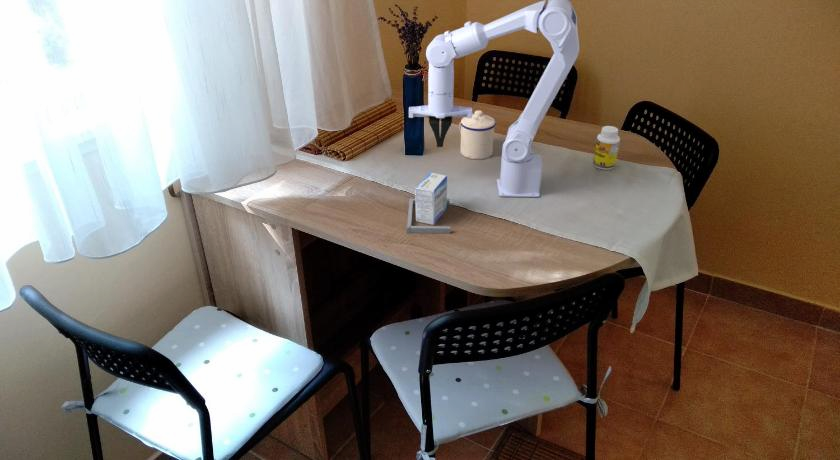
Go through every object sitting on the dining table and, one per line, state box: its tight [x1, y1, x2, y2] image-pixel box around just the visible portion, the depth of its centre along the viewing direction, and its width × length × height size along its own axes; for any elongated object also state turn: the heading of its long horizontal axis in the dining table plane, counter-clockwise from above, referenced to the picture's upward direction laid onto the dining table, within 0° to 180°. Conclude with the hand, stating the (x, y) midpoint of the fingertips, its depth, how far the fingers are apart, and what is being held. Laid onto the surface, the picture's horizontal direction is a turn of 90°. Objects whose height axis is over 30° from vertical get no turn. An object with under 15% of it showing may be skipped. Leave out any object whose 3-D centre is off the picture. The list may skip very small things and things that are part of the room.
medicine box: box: [414, 172, 448, 226], centre depth 139 cm, size 8×4×9 cm, turn 156°
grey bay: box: [406, 197, 451, 234], centre depth 141 cm, size 9×13×1 cm
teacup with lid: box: [458, 110, 496, 160], centre depth 167 cm, size 12×9×12 cm
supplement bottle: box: [592, 125, 621, 171], centre depth 159 cm, size 6×6×10 cm
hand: (439, 145), depth 151 cm, fingers closed
